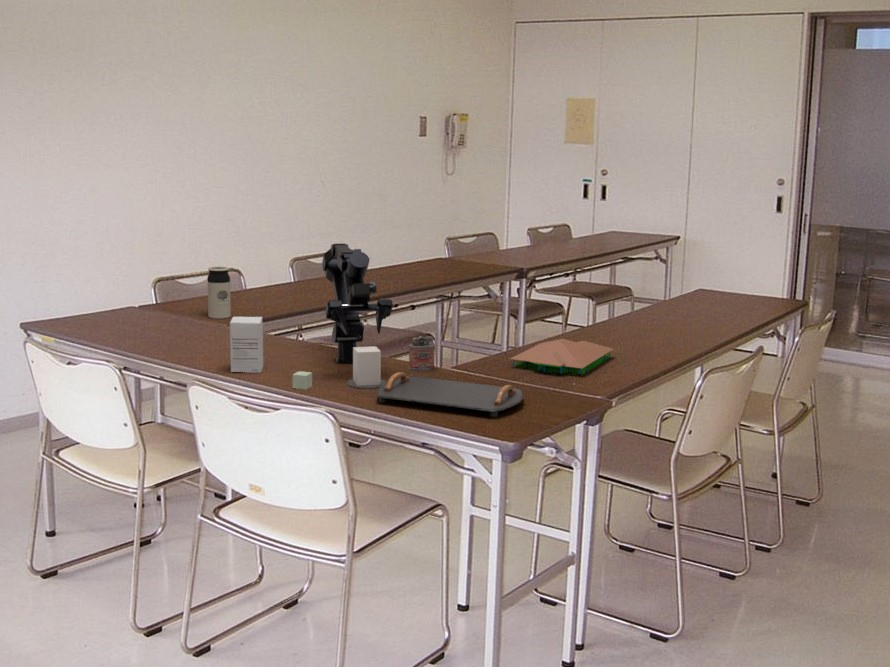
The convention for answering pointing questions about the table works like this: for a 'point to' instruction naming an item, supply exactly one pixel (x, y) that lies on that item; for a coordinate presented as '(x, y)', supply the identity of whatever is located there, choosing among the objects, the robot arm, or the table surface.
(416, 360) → the lighter
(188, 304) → the table surface
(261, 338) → the supplement box
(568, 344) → the house
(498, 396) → the serving board
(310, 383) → the block
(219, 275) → the travel mug
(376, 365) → the white upright block
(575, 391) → the table surface
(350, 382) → the mat
